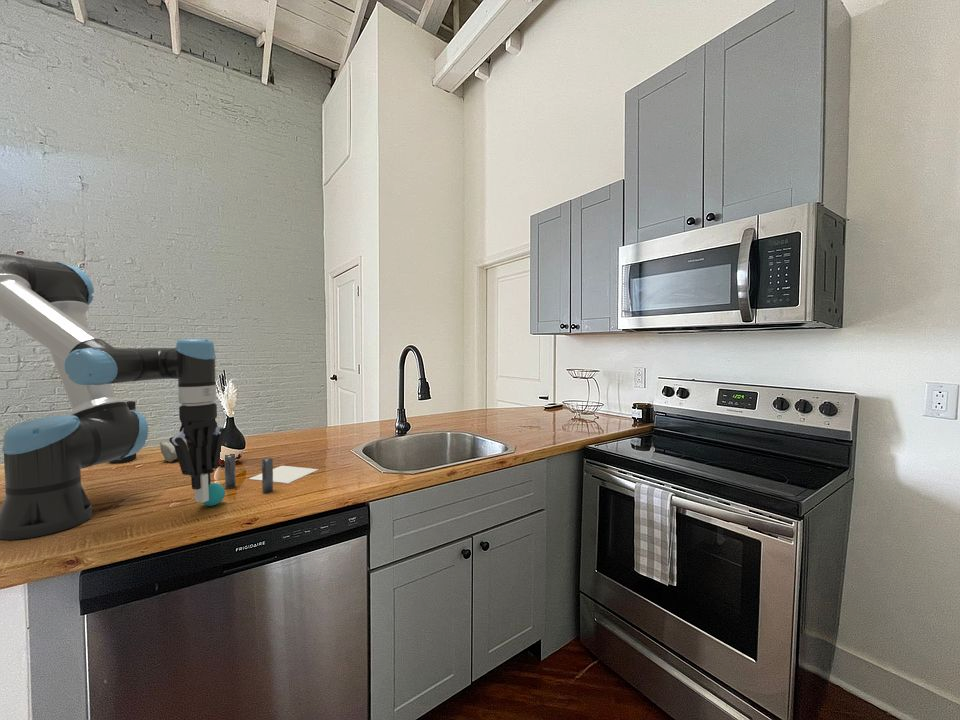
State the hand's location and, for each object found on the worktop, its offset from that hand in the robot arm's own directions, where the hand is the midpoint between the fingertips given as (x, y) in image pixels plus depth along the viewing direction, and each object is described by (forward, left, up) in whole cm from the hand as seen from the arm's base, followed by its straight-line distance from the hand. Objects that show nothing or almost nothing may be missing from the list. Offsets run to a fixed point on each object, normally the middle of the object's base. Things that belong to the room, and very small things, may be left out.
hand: (201, 500), depth 102 cm
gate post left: (+15, +7, -3) cm, 17 cm away
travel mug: (+26, +64, -3) cm, 69 cm away
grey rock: (+35, +46, -3) cm, 58 cm away
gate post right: (+15, -5, -3) cm, 16 cm away
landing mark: (+29, +1, -3) cm, 30 cm away
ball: (+3, +1, 0) cm, 4 cm away
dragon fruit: (+32, +28, -3) cm, 43 cm away
